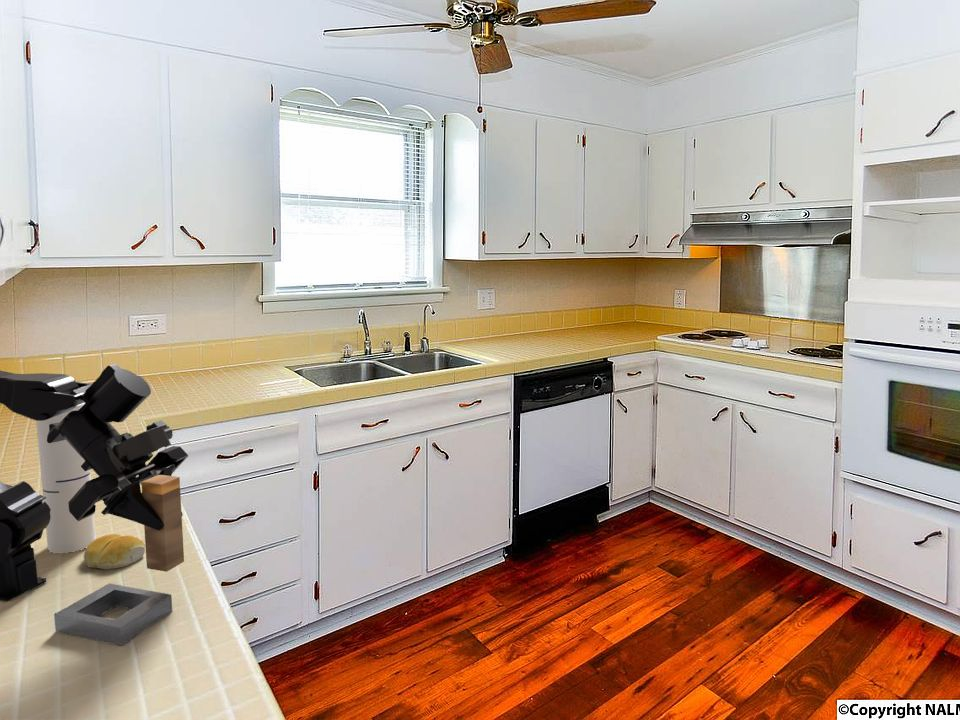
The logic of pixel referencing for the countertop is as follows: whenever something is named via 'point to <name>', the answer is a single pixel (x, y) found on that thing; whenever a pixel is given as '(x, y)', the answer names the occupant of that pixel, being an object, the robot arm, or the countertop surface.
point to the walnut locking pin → (168, 541)
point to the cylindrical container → (63, 490)
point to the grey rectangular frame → (121, 630)
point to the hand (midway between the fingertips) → (171, 522)
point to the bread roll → (113, 551)
